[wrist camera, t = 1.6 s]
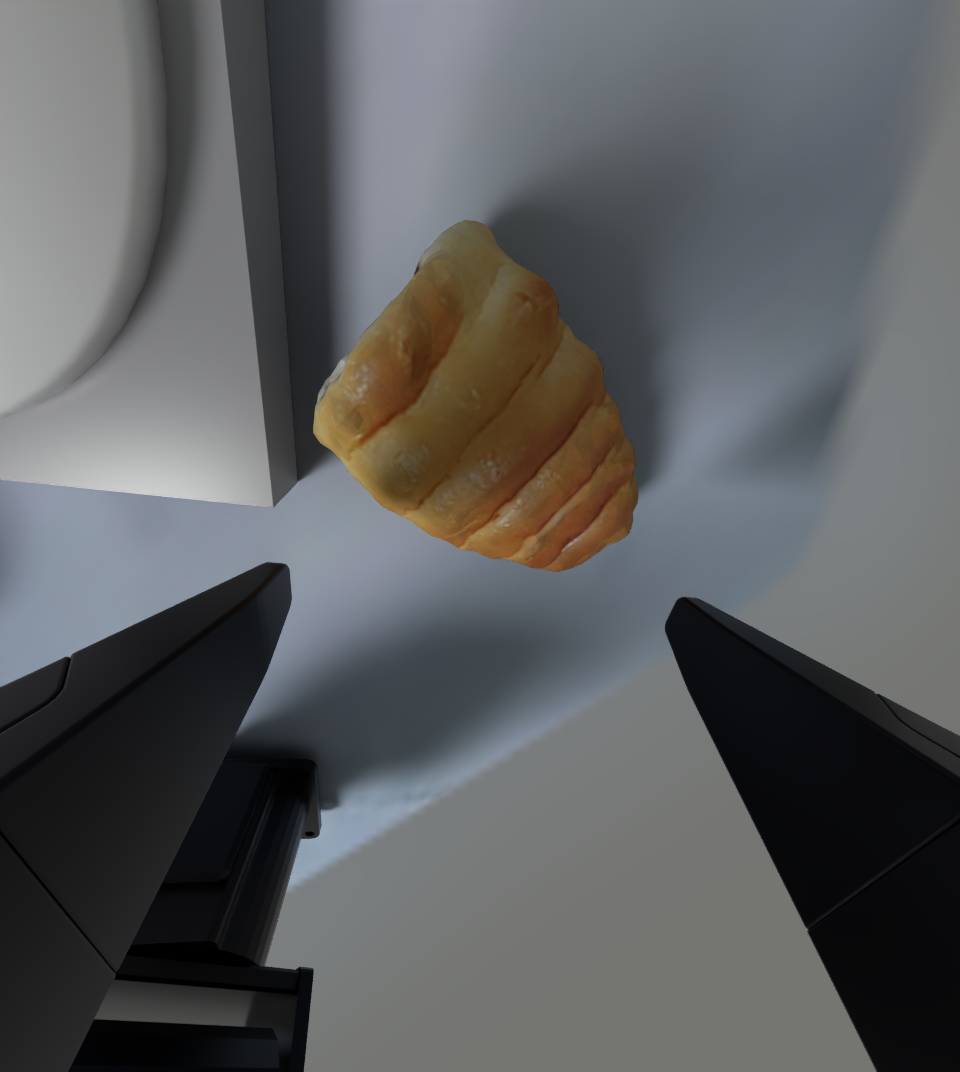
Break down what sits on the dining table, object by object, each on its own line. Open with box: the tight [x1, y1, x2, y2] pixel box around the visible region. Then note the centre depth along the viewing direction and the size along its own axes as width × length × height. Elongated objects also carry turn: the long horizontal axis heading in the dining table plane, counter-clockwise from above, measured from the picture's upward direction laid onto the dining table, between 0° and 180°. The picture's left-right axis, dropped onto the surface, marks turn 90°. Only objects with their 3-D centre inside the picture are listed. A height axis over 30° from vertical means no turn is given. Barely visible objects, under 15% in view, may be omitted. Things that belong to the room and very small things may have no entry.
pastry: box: [313, 220, 638, 572], centre depth 10 cm, size 9×7×4 cm
